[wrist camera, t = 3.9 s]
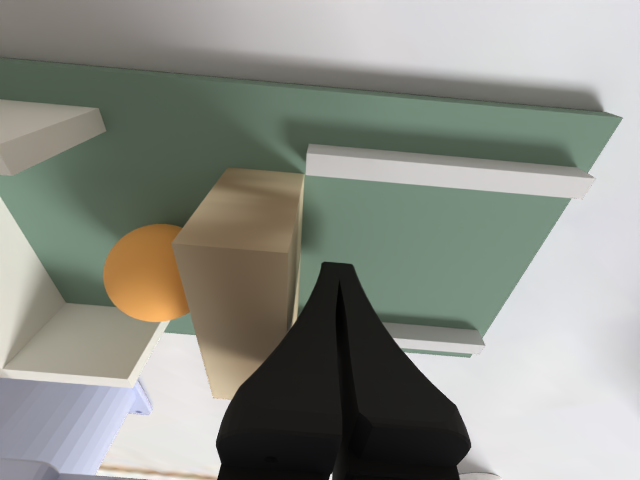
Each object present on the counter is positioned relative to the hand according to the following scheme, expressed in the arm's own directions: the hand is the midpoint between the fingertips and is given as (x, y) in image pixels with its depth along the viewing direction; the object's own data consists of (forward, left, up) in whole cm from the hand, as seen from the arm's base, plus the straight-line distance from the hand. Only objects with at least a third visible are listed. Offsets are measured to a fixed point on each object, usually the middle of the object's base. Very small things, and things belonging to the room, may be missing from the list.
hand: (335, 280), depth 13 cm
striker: (-3, 0, -2) cm, 3 cm away
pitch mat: (-3, 0, -2) cm, 4 cm away
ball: (-7, 0, 0) cm, 7 cm away
